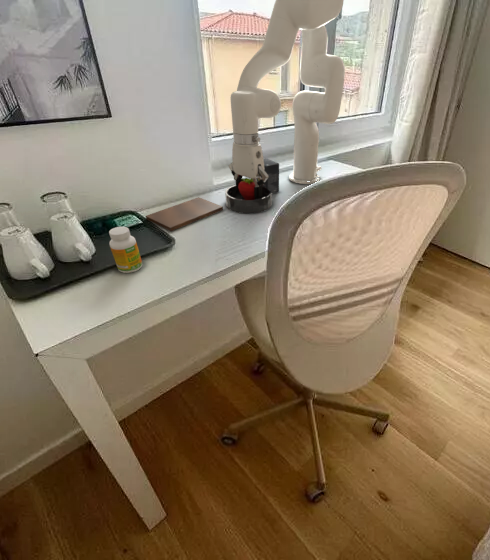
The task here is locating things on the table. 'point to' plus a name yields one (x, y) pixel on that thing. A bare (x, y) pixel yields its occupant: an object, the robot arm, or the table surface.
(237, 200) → the pan
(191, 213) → the cutting board
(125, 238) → the supplement bottle
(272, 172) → the box
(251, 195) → the strawberry
